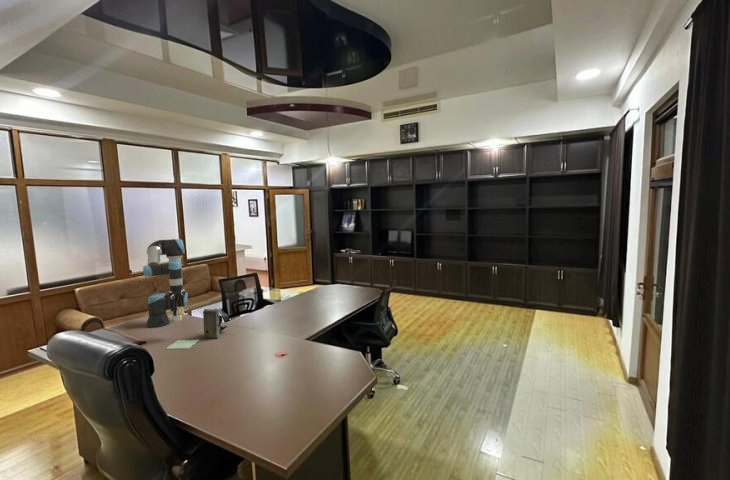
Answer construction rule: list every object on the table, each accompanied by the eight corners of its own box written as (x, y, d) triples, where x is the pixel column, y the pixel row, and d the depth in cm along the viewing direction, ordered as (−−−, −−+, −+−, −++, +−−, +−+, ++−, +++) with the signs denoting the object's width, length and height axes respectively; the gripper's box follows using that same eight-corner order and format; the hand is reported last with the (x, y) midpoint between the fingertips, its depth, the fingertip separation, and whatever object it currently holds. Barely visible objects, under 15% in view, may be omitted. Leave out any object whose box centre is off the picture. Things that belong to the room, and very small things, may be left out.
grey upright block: (229, 331, 242) (227, 304, 241) (217, 339, 226) (215, 309, 226) (216, 332, 243) (214, 304, 242) (203, 339, 227) (202, 309, 227)
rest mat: (177, 340, 225) (177, 340, 225) (199, 340, 225) (199, 339, 225) (165, 349, 211) (165, 348, 211) (188, 348, 211) (188, 347, 211)
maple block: (176, 318, 231) (175, 307, 231) (184, 318, 231) (183, 306, 231) (172, 320, 226) (171, 308, 226) (180, 320, 226) (179, 308, 226)
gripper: (177, 282, 236) (180, 315, 238) (162, 287, 218) (164, 323, 220) (188, 282, 236) (190, 315, 238) (174, 287, 218) (176, 323, 220)
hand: (178, 319), depth 229 cm, fingers closed on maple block, 5 cm apart
